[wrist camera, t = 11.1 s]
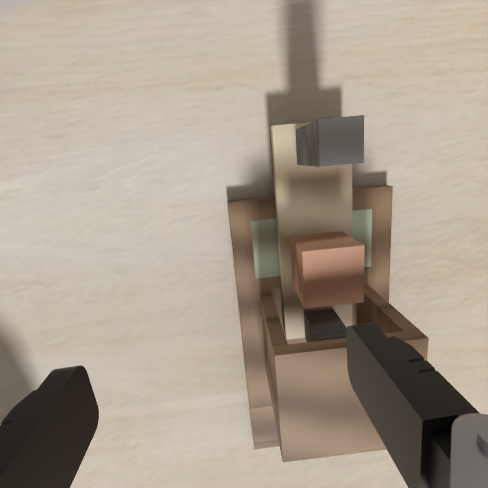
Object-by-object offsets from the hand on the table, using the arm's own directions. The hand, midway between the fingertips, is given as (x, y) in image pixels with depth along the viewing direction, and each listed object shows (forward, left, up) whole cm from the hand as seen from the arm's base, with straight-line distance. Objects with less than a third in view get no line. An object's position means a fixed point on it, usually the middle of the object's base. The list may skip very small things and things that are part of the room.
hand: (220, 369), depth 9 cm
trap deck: (+13, +9, -23) cm, 27 cm away
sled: (+2, +9, -21) cm, 23 cm away
